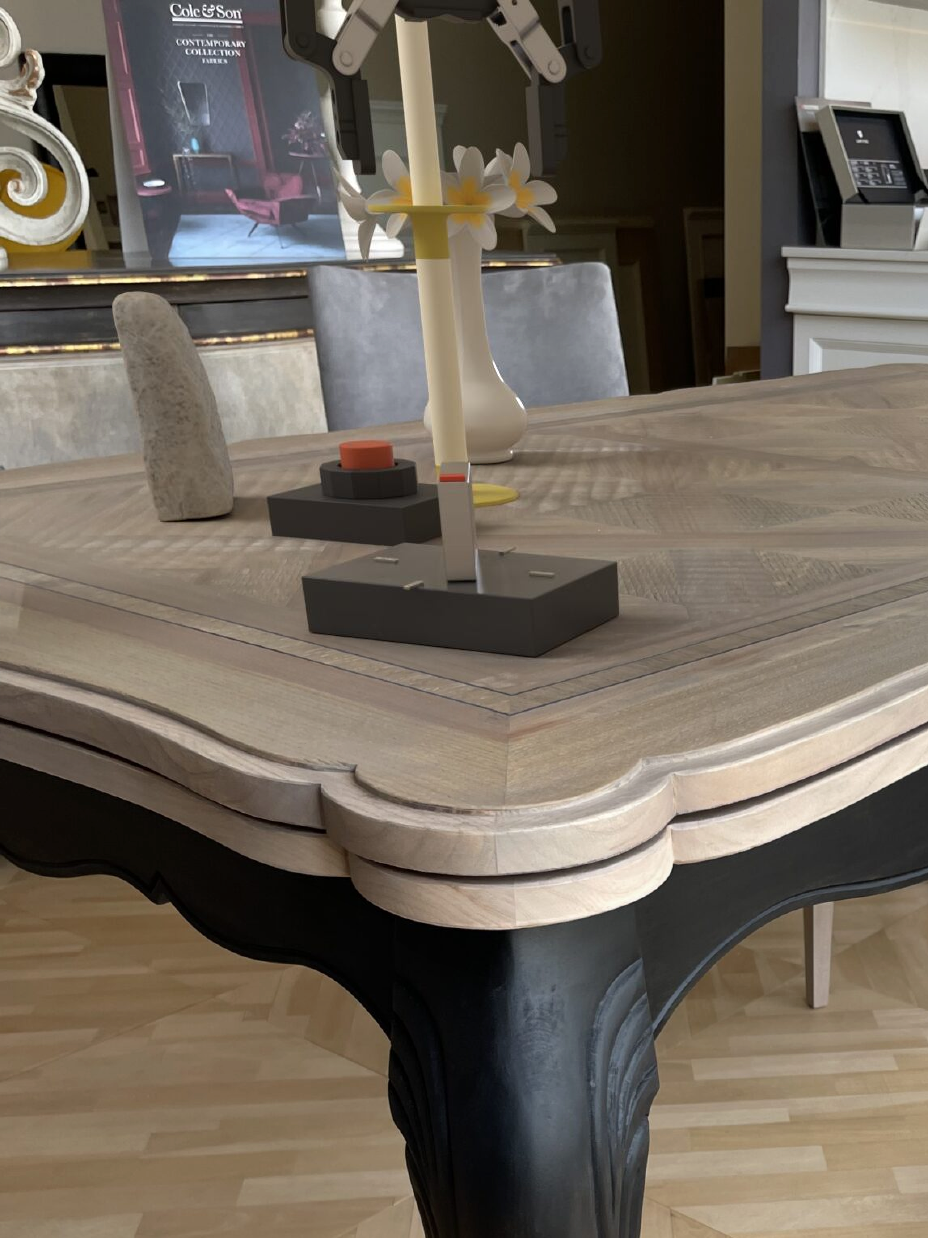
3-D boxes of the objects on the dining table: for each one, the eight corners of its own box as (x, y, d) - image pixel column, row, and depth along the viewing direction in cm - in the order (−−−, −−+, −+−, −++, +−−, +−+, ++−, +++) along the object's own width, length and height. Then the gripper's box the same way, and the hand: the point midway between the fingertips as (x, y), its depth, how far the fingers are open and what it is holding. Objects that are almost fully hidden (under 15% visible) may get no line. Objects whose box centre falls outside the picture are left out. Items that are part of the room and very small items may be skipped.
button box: (272, 536, 106) (261, 468, 104) (347, 515, 114) (339, 451, 111) (407, 548, 103) (399, 478, 101) (475, 525, 110) (470, 460, 108)
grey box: (449, 555, 86) (440, 457, 84) (477, 554, 87) (469, 457, 84) (446, 581, 80) (436, 477, 78) (477, 580, 80) (468, 477, 78)
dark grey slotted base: (301, 634, 82) (293, 575, 81) (414, 591, 92) (408, 537, 90) (530, 660, 78) (525, 598, 77) (624, 612, 87) (622, 556, 86)
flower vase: (359, 455, 140) (321, 141, 128) (554, 446, 146) (535, 145, 134) (380, 476, 130) (341, 136, 118) (590, 465, 136) (573, 141, 124)
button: (331, 472, 105) (328, 445, 104) (361, 465, 108) (358, 439, 107) (376, 475, 104) (372, 448, 103) (405, 468, 107) (402, 442, 106)
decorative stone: (170, 498, 119) (133, 286, 112) (249, 497, 120) (217, 286, 113) (143, 524, 110) (101, 294, 103) (229, 522, 111) (193, 294, 104)
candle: (395, 488, 124) (334, -74, 106) (519, 487, 125) (479, -70, 107) (384, 510, 115) (315, -99, 97) (517, 508, 117) (474, -94, 99)
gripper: (558, -228, 70) (577, 179, 77) (233, -264, 65) (289, 175, 72) (608, -268, 64) (624, 177, 71) (255, -311, 59) (313, 173, 66)
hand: (455, 176), depth 72 cm, fingers open, 8 cm apart
